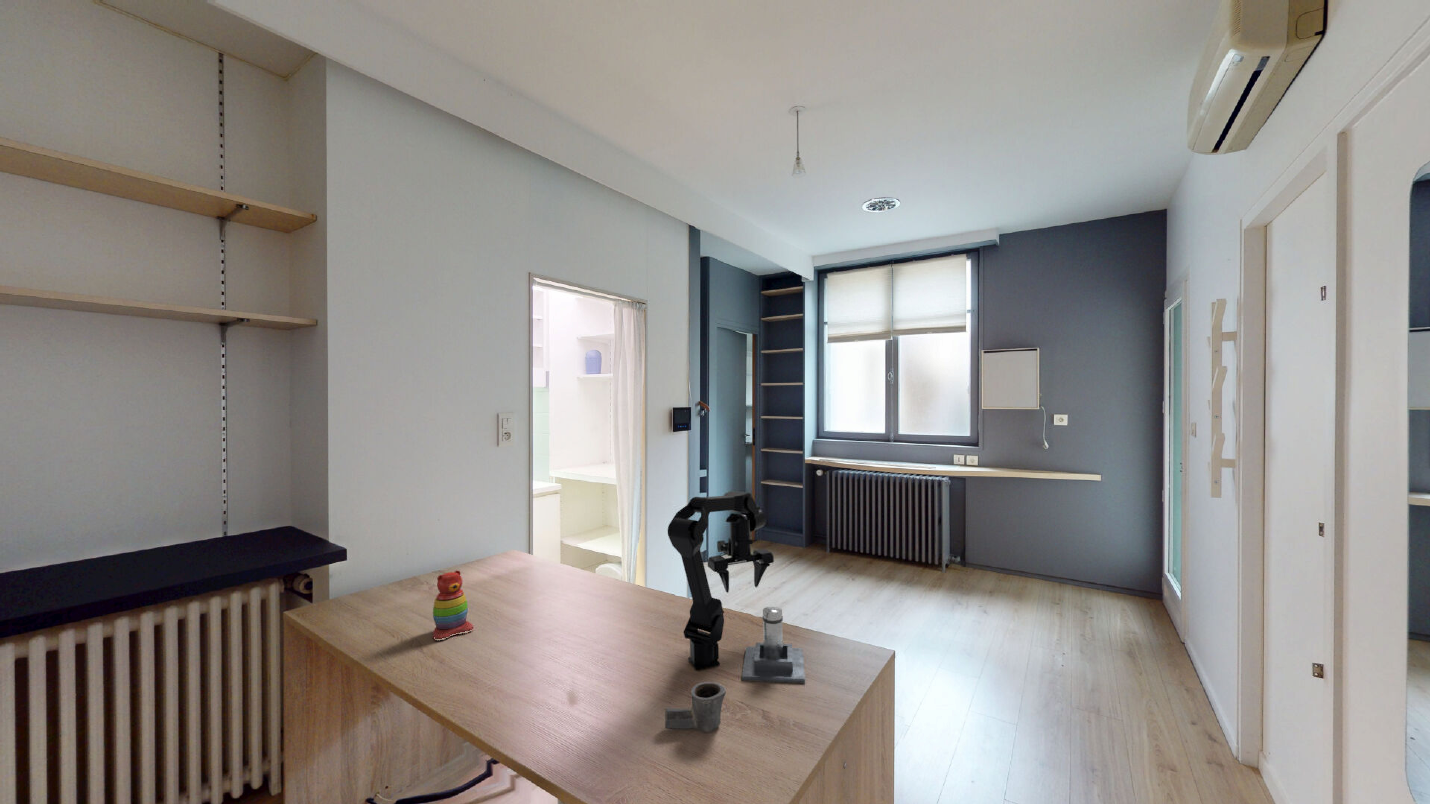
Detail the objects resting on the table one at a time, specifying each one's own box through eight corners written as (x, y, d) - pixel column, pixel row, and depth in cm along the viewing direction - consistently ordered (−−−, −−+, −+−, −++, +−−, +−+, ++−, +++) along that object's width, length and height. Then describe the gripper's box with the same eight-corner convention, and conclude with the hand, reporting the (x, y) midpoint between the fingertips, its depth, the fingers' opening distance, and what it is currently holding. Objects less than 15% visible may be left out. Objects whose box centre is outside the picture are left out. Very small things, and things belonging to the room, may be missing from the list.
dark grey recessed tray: (742, 680, 126) (741, 666, 126) (746, 650, 141) (746, 637, 141) (805, 683, 124) (804, 668, 124) (802, 652, 139) (802, 639, 139)
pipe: (665, 722, 110) (664, 684, 110) (725, 717, 112) (724, 680, 112) (665, 741, 104) (664, 701, 104) (728, 735, 106) (727, 696, 105)
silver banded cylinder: (769, 668, 129) (768, 615, 129) (759, 659, 134) (758, 608, 134) (787, 663, 131) (786, 612, 131) (777, 655, 136) (776, 605, 136)
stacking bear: (436, 643, 150) (434, 581, 149) (427, 632, 157) (425, 573, 157) (475, 631, 157) (473, 572, 156) (465, 621, 164) (463, 564, 164)
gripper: (756, 525, 161) (757, 575, 161) (699, 533, 154) (701, 585, 154) (774, 533, 150) (775, 587, 151) (714, 542, 143) (715, 599, 143)
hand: (741, 589), depth 150 cm, fingers open, 9 cm apart
